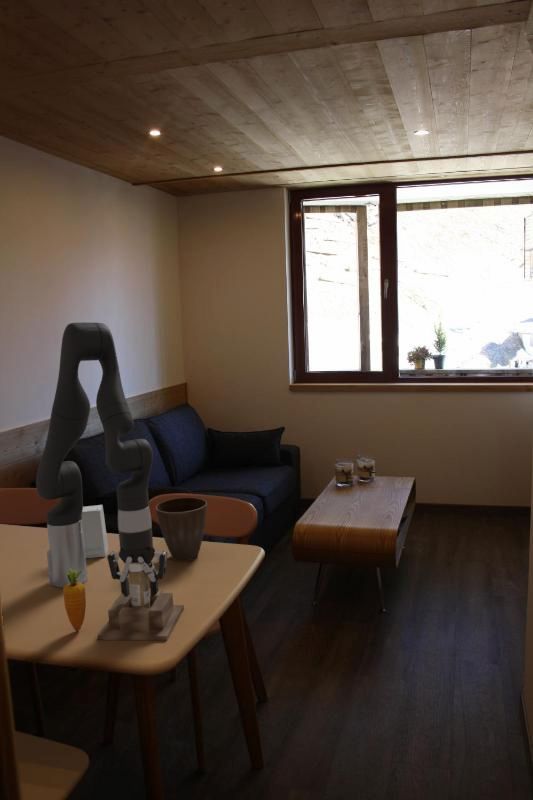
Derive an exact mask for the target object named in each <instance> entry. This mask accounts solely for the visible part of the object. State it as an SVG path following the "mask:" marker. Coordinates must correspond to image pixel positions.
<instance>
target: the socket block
mask: <svg viewBox="0 0 533 800" xmlns="http://www.w3.org/2000/svg"><path fill="white" fill-rule="evenodd" d="M149 594H150V608H132V603H131V593H130V594H129V595H128V597H124V594H122V592H121V593H120V594H119V595H118V597H117V598H116V599H115V601H114V602H113V603H112V604H111V606H110V607H109V608H108V610H107V615H108V621H107V622H106V624H105V625H104V626H103V628H102V629H101V630H100V631H99V633H98V635H97V640H98V639H103V640H102V641H168V640H169V638H170V636H171V634H172V633H173V631H174V628H175V626H176V624H177V623H178V621H179V619H180V618H181V615H182V613H183V611H184V610H185V606H184V604H174V598H173V592H163V590H161V589H159V590H158V593H157V594H156V595H155V597H151V590H150V589H149Z"/></svg>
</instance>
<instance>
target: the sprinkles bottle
mask: <svg viewBox="0 0 533 800" xmlns="http://www.w3.org/2000/svg"><path fill="white" fill-rule="evenodd" d="M128 577H129V588H130V593H131V603H132V608H150V594H149V590H150V582H149V576H148V575H147V574H146V573H145V571H144V569H143V567H142V566H141V564H140V563H131V564H130V565H129V574H128Z"/></svg>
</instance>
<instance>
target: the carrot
mask: <svg viewBox="0 0 533 800" xmlns="http://www.w3.org/2000/svg"><path fill="white" fill-rule="evenodd" d="M68 571H69V573H67V577H68V580H69V581H70V584H68V585H66V586H65V587H64V588H62V594H63V601H64V608H65V611H66V615H67V618H68V621H69V622H70V624H71V626H72V627H73V629H74V631H76V632H77V631H78V632H79V631H80V630H81V628H82V626H83V624H84V620H85V616H86V608H87V607H86V606H87V604H86V603H87V602H86V598H87V597H86V588H85V586H84V583H76V582H77V581H78V579H77V578H78V576H79V574H80V573H81V572H82V571H79V572H78V573H77V575H76V571H73V573H72V569H69V570H68ZM75 575H76V576H75Z"/></svg>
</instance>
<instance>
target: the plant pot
mask: <svg viewBox="0 0 533 800" xmlns="http://www.w3.org/2000/svg"><path fill="white" fill-rule="evenodd" d="M207 510H208V502H207V501H206V500H205V499H203V498H199V497H178V498H172V499H166V500H164V501H162V502H159V503H158V504H156V506H155V511H156V515H157V519H158V524H159V528H160V530H161V534H162V536H163V539H164V541H165V545H166V547H167V548H168V551H169V553H170V555H171V557H172V559H173V560H174V561H176V560H177V561H178V562H188V561H189V562H190V561H192V560H194V559H197V557H198V556H199V553H200V551H201V545H202V542H203V538H204V534H205V527H206V519H207Z"/></svg>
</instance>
